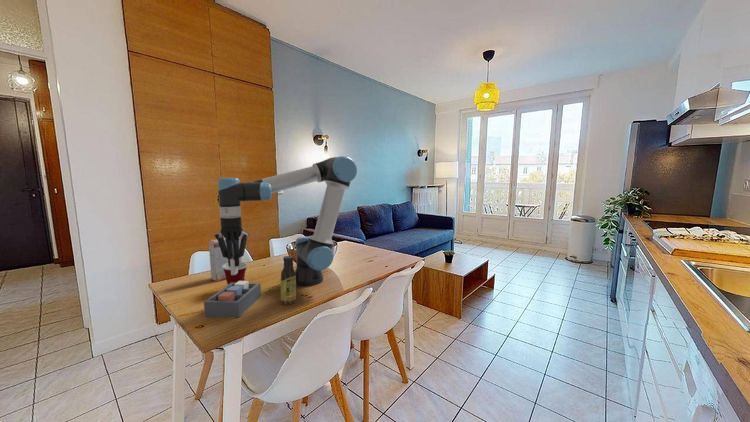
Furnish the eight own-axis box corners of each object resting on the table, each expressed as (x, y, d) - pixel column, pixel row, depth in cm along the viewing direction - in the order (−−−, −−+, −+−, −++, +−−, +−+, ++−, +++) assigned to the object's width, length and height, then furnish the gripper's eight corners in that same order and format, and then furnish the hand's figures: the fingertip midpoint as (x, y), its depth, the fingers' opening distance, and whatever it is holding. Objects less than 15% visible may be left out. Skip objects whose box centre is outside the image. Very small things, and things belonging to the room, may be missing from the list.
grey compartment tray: (260, 295, 128) (260, 282, 127) (238, 317, 108) (238, 302, 107) (231, 295, 128) (231, 282, 127) (204, 317, 108) (203, 301, 107)
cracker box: (237, 272, 158) (235, 235, 156) (242, 274, 155) (241, 236, 153) (210, 279, 147) (208, 239, 145) (216, 282, 144) (214, 241, 141)
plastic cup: (238, 294, 129) (237, 269, 127) (218, 292, 131) (216, 267, 129) (253, 286, 139) (252, 262, 138) (234, 284, 141) (233, 260, 140)
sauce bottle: (287, 307, 117) (286, 260, 115) (277, 303, 121) (276, 257, 118) (299, 301, 123) (298, 256, 120) (289, 297, 126) (288, 254, 124)
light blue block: (242, 297, 120) (241, 286, 119) (237, 302, 116) (236, 290, 115) (232, 297, 120) (231, 286, 119) (227, 301, 116) (226, 290, 115)
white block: (248, 291, 126) (248, 281, 125) (244, 295, 122) (243, 284, 121) (239, 291, 126) (239, 280, 125) (234, 295, 122) (234, 284, 121)
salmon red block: (235, 304, 114) (234, 292, 113) (229, 308, 110) (228, 296, 109) (224, 303, 114) (223, 291, 113) (218, 308, 110) (218, 296, 109)
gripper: (209, 218, 110) (213, 277, 113) (242, 218, 110) (246, 277, 113) (219, 215, 117) (223, 270, 120) (251, 215, 117) (254, 270, 120)
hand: (234, 273), depth 117 cm, fingers closed
